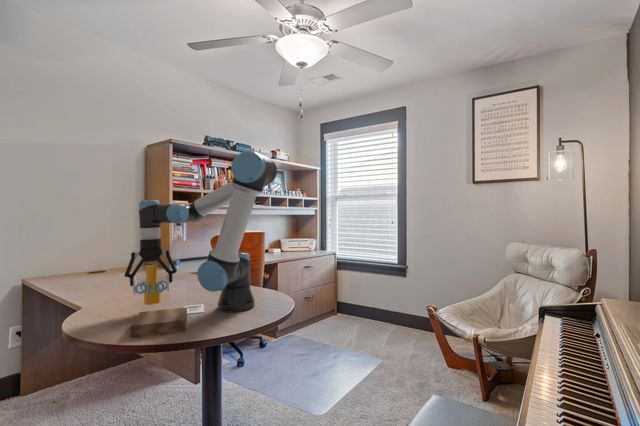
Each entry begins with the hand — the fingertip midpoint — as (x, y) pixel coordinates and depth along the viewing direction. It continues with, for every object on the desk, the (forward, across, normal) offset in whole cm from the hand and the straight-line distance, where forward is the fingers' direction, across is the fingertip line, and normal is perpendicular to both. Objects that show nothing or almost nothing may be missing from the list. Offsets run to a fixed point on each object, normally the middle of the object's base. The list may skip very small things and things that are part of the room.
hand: (152, 292), depth 134 cm
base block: (+8, -6, +21) cm, 23 cm away
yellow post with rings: (+4, 0, 0) cm, 4 cm away
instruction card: (+8, -16, +2) cm, 18 cm away
